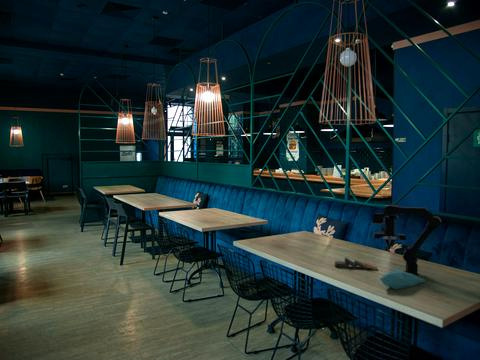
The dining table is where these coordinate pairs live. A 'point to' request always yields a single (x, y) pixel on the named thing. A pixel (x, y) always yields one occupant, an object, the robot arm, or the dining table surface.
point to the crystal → (400, 279)
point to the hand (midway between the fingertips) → (388, 249)
